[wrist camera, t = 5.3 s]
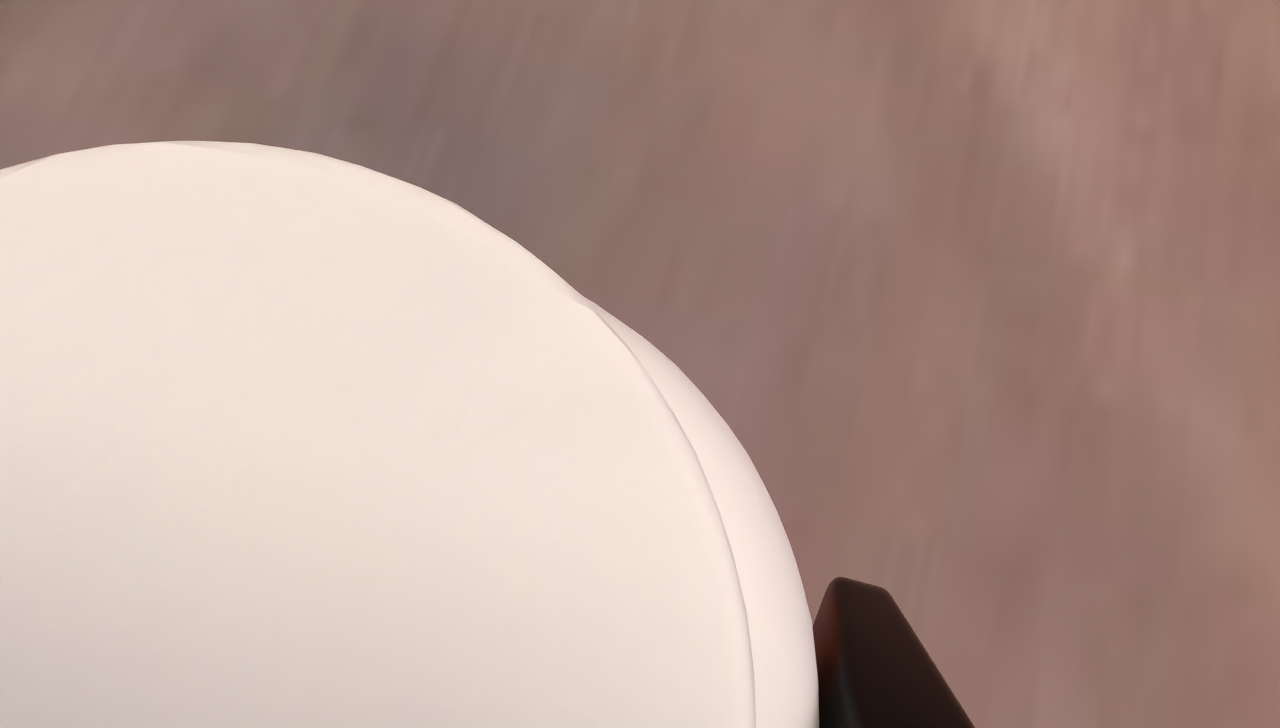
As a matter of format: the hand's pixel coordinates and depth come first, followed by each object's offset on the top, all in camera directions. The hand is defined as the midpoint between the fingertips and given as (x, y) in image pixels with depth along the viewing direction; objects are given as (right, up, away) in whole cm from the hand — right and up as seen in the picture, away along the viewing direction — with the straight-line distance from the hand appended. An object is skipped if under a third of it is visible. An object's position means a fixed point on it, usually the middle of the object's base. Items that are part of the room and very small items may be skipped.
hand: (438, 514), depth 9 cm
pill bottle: (-1, -3, +6) cm, 7 cm away
